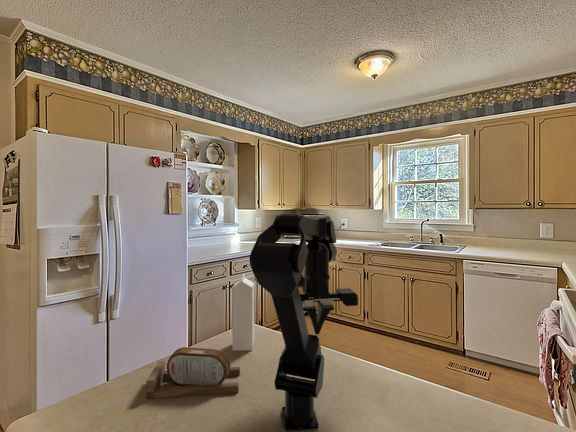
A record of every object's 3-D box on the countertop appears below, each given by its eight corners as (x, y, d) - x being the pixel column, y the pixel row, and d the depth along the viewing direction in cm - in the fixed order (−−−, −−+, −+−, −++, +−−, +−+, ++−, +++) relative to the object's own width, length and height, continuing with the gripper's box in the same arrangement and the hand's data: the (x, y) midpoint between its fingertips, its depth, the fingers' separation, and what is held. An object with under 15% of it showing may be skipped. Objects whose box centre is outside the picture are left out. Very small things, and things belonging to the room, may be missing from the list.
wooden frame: (238, 392, 71) (238, 375, 71) (146, 398, 69) (146, 380, 69) (239, 372, 80) (239, 356, 80) (158, 377, 78) (158, 361, 78)
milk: (232, 351, 92) (231, 276, 92) (235, 342, 98) (234, 272, 98) (252, 350, 92) (252, 276, 92) (254, 342, 99) (253, 272, 98)
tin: (230, 383, 75) (230, 348, 75) (226, 390, 72) (226, 354, 72) (171, 379, 77) (171, 345, 77) (164, 386, 74) (164, 350, 74)
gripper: (344, 262, 83) (344, 320, 83) (275, 263, 81) (275, 323, 81) (359, 270, 72) (359, 337, 72) (278, 272, 70) (278, 341, 70)
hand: (316, 333), depth 74 cm, fingers closed
